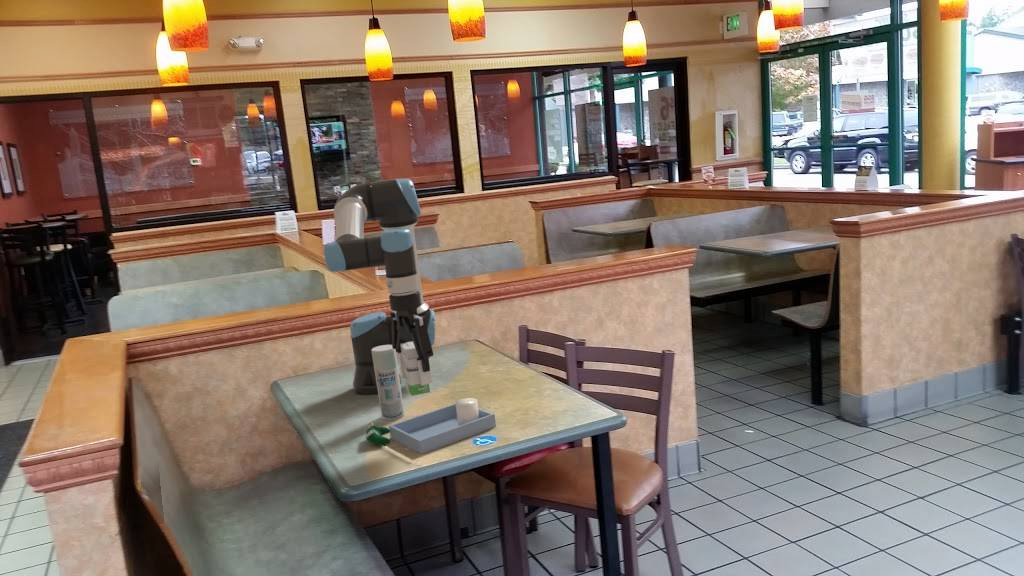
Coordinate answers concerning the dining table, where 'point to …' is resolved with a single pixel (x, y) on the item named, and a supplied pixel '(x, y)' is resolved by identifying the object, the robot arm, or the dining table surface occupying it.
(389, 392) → the spray can
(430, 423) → the tote
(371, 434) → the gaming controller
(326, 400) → the dining table surface
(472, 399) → the white smooth rounded part
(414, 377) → the ink box
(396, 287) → the robot arm
